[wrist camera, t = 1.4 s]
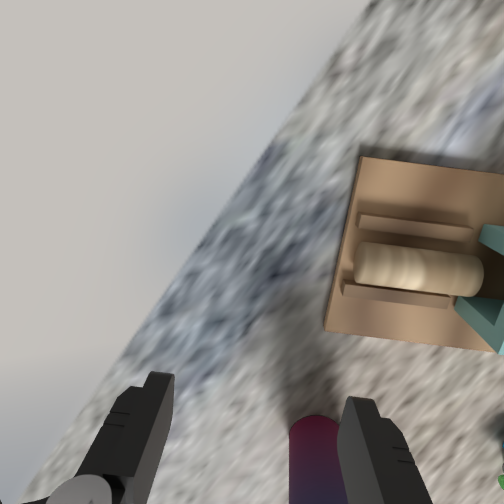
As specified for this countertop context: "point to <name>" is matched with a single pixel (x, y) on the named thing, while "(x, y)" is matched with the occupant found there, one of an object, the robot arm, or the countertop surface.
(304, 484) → the cup
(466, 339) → the board
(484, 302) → the block
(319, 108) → the countertop surface
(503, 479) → the gear
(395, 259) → the dowel
